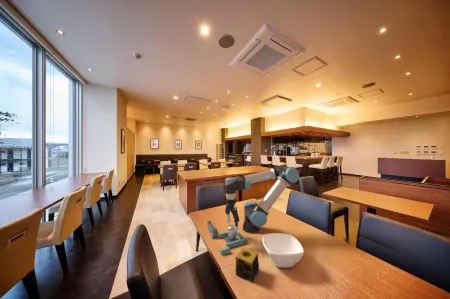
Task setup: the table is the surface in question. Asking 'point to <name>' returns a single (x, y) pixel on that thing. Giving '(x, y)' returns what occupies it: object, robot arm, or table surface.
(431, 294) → the table surface
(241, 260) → the candle
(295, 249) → the bowl
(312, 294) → the table surface
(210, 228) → the lock pin
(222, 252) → the dock cradle
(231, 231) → the spigot
